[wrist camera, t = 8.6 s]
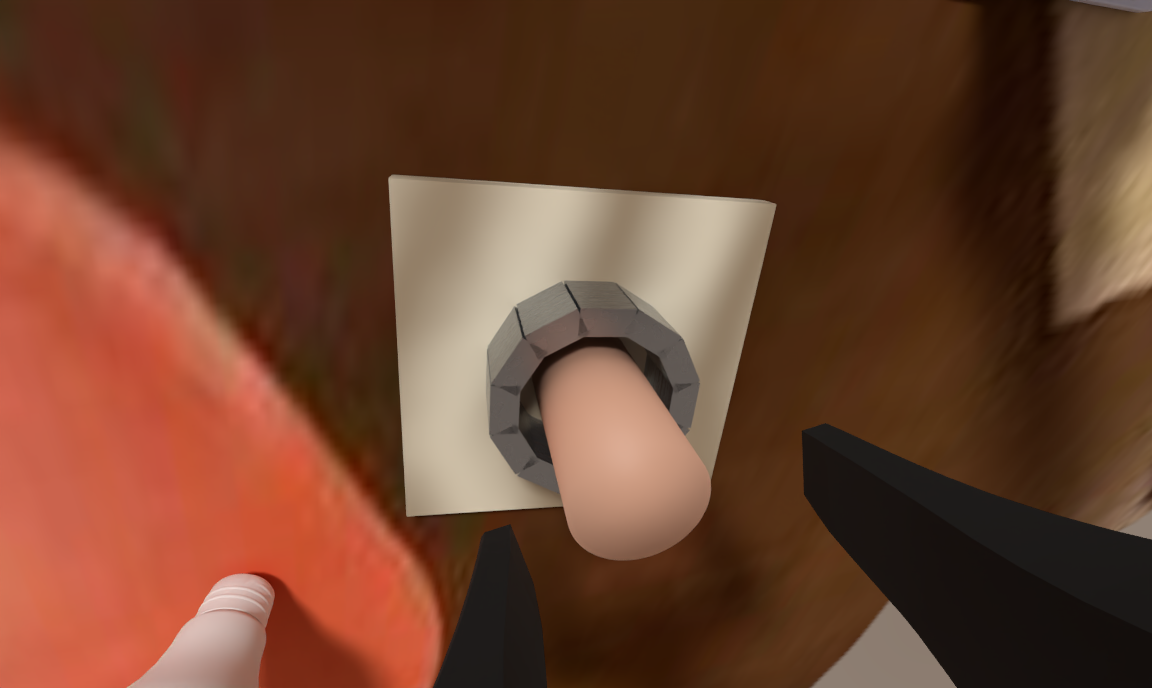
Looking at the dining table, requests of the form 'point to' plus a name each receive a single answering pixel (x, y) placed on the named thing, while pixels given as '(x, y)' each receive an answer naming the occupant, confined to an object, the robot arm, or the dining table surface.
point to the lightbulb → (218, 639)
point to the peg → (617, 452)
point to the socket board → (523, 255)
